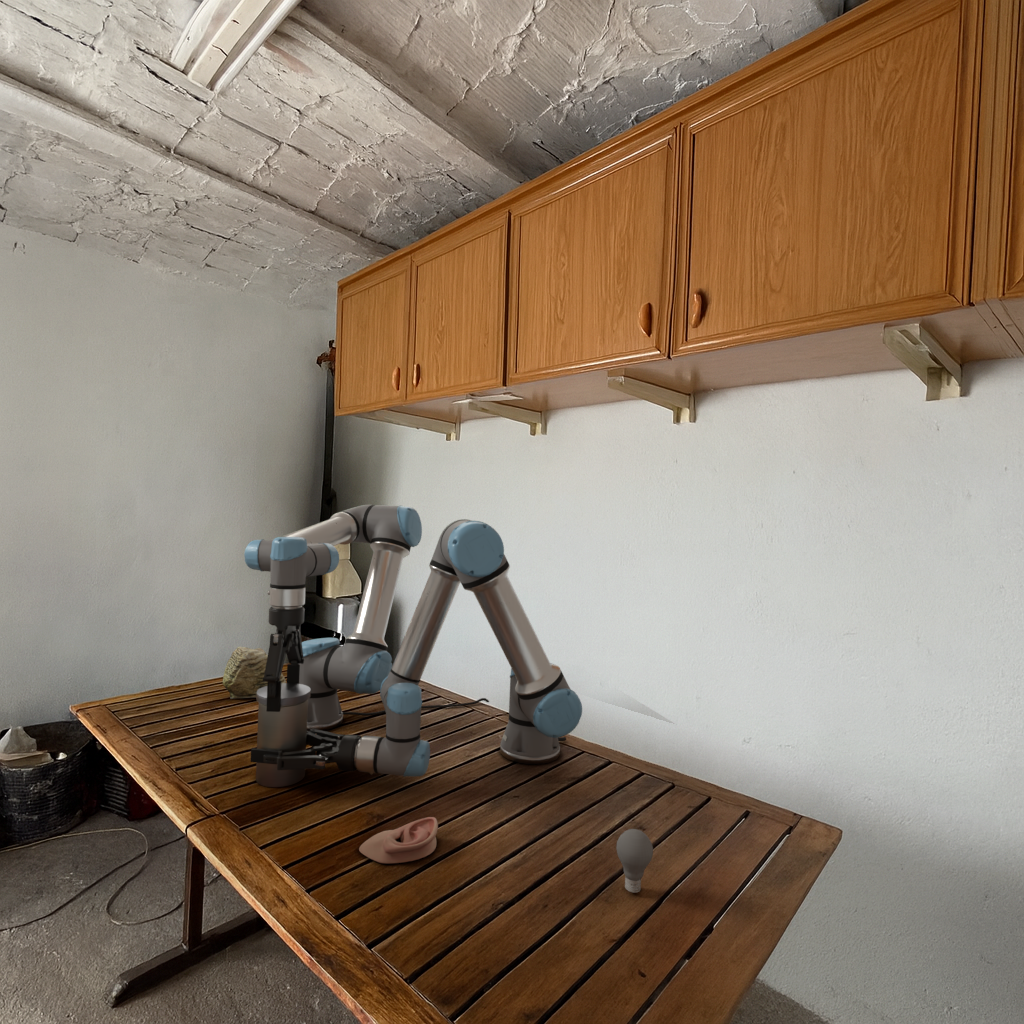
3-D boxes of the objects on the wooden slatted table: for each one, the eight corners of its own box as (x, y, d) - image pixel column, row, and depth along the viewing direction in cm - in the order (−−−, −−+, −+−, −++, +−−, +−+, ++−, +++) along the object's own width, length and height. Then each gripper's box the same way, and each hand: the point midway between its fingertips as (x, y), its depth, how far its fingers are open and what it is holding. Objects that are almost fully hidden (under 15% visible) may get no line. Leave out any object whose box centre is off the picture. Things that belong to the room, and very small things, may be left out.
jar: (263, 791, 135) (266, 703, 135) (250, 773, 143) (253, 690, 143) (311, 780, 141) (314, 696, 141) (296, 763, 150) (299, 684, 149)
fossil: (218, 695, 195) (220, 647, 195) (278, 685, 208) (279, 640, 207) (228, 703, 189) (230, 653, 188) (289, 692, 201) (290, 645, 201)
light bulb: (610, 879, 108) (613, 822, 108) (644, 879, 109) (647, 822, 109) (619, 902, 102) (622, 840, 102) (655, 901, 103) (658, 840, 103)
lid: (316, 701, 140) (316, 694, 140) (262, 708, 134) (262, 701, 134) (302, 687, 150) (303, 680, 150) (251, 693, 144) (251, 686, 144)
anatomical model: (352, 836, 111) (378, 805, 123) (351, 858, 111) (377, 826, 123) (423, 847, 109) (444, 815, 120) (422, 870, 109) (443, 836, 120)
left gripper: (287, 597, 154) (284, 684, 154) (249, 615, 129) (245, 719, 130) (318, 598, 154) (315, 685, 154) (286, 617, 129) (282, 721, 130)
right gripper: (339, 793, 129) (236, 784, 131) (375, 750, 152) (286, 742, 154) (341, 757, 129) (237, 748, 131) (376, 719, 152) (287, 712, 154)
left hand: (283, 701), depth 142 cm, fingers open, 12 cm apart
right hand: (264, 745), depth 143 cm, fingers closed on jar, 10 cm apart
